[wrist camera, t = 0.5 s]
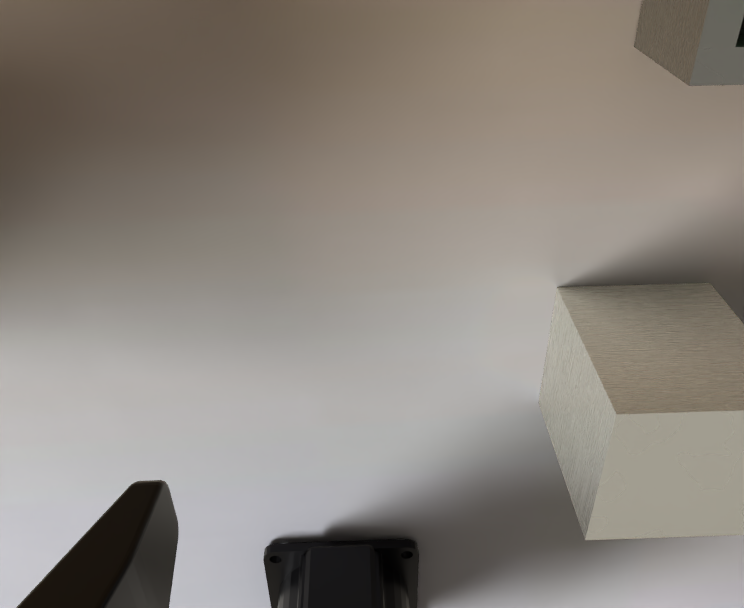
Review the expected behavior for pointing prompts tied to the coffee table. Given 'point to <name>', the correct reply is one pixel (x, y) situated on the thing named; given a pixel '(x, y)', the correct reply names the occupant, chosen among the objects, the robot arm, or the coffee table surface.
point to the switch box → (695, 39)
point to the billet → (647, 409)
